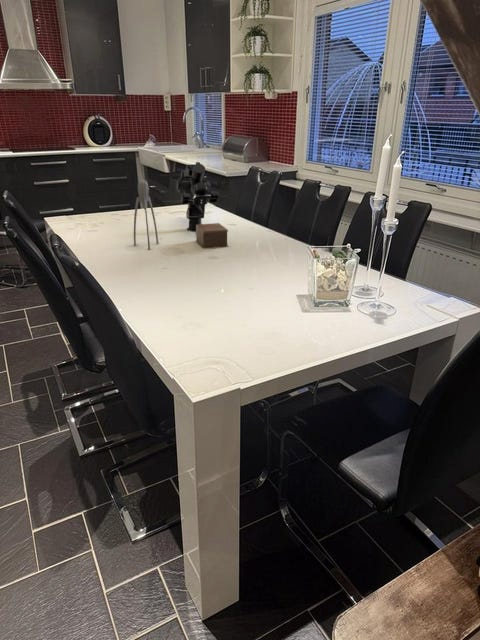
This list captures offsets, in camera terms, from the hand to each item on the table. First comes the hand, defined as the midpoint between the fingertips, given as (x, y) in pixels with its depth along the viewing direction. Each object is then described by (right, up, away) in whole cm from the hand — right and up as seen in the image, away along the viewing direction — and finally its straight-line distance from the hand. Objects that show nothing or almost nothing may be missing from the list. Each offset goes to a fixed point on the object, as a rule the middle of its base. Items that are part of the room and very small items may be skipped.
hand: (203, 212), depth 230 cm
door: (+5, -10, -9) cm, 14 cm away
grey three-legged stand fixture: (-27, -19, -11) cm, 35 cm away
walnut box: (+4, -17, -6) cm, 18 cm away
